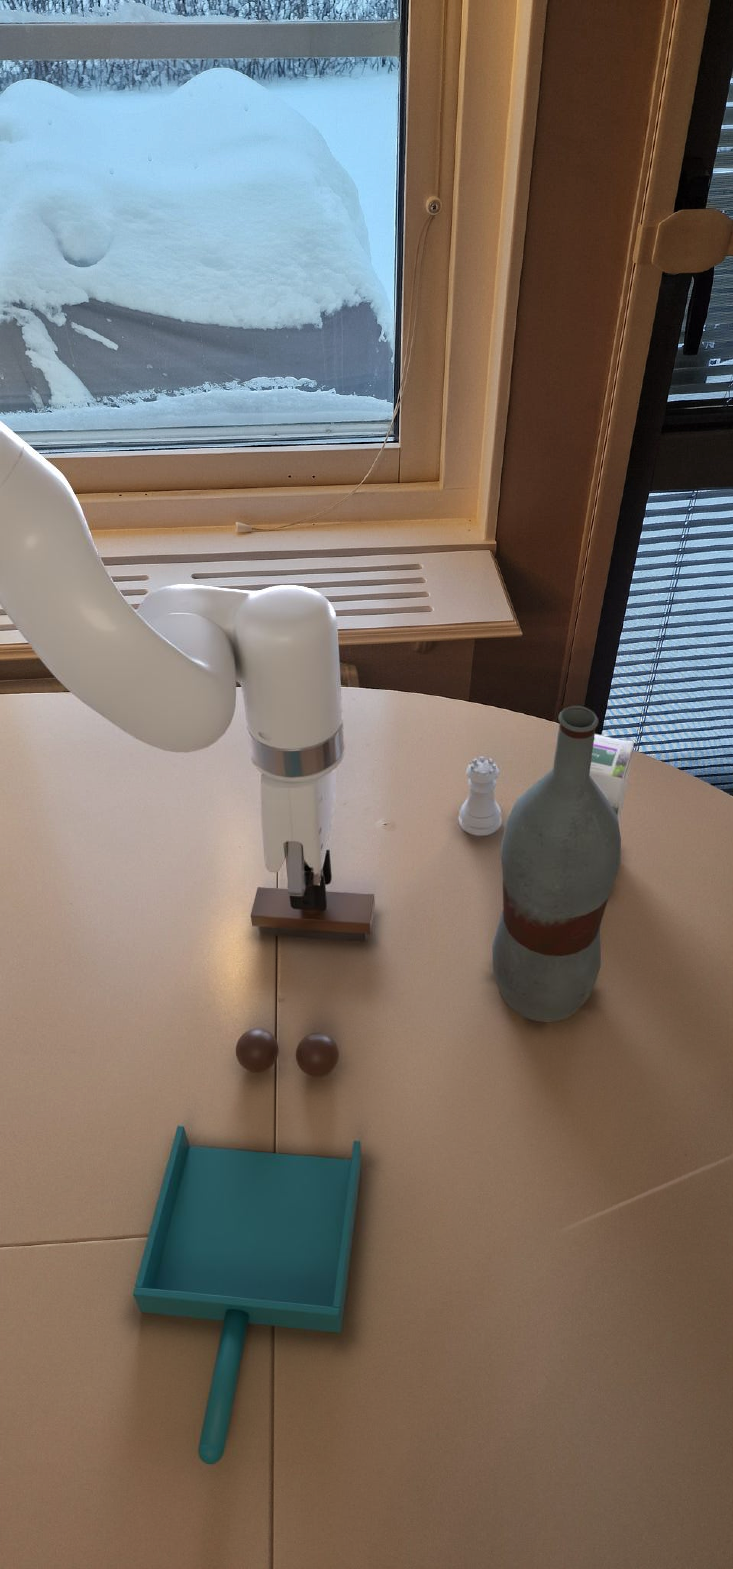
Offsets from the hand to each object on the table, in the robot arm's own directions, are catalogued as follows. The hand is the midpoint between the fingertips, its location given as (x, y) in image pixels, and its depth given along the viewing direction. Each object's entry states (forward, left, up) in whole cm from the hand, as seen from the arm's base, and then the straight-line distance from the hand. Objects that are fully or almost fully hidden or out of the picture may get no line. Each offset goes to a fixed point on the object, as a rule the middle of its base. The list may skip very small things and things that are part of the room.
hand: (311, 893), depth 94 cm
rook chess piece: (+15, +15, -5) cm, 22 cm away
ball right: (+3, -15, -3) cm, 15 cm away
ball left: (-2, -15, -3) cm, 15 cm away
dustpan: (0, -34, -5) cm, 34 cm away
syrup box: (+25, +10, -5) cm, 27 cm away
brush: (0, 0, -5) cm, 5 cm away
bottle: (+21, -5, -5) cm, 22 cm away
